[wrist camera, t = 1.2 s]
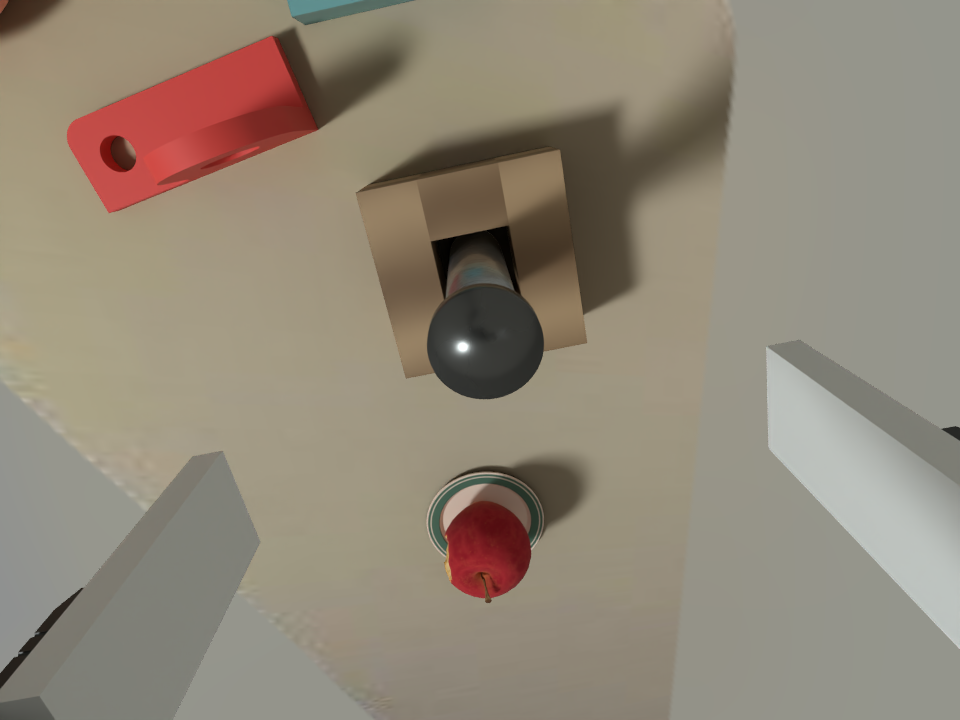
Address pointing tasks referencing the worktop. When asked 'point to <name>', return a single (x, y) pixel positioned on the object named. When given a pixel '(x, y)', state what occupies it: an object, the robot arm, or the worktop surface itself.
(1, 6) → the teapot
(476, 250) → the pin
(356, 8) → the tray
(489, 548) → the apple
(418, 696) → the worktop surface
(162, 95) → the bracket
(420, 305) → the block
